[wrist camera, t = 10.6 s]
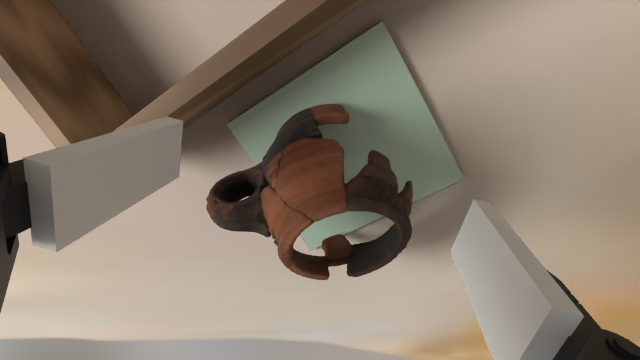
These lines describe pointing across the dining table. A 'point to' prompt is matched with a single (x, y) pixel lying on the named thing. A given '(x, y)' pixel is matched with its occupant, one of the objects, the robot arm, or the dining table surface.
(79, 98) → the crate
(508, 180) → the dining table surface
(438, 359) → the dining table surface
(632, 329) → the dining table surface
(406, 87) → the mat
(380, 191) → the brown hollow vessel
